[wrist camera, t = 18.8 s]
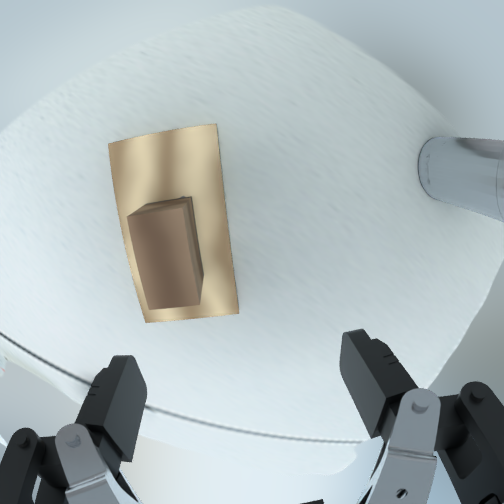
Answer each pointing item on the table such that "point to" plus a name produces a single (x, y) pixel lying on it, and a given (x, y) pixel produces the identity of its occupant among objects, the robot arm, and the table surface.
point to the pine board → (172, 187)
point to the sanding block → (167, 253)
